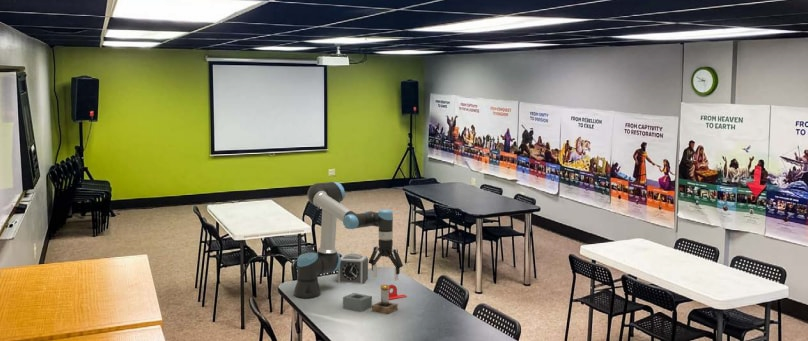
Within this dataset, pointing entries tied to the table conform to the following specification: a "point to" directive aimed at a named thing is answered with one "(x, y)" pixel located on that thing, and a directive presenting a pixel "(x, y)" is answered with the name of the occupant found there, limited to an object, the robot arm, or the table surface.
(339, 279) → the alarm clock
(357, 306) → the block
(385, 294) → the pin
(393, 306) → the frame
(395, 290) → the bracket
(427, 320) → the table surface
